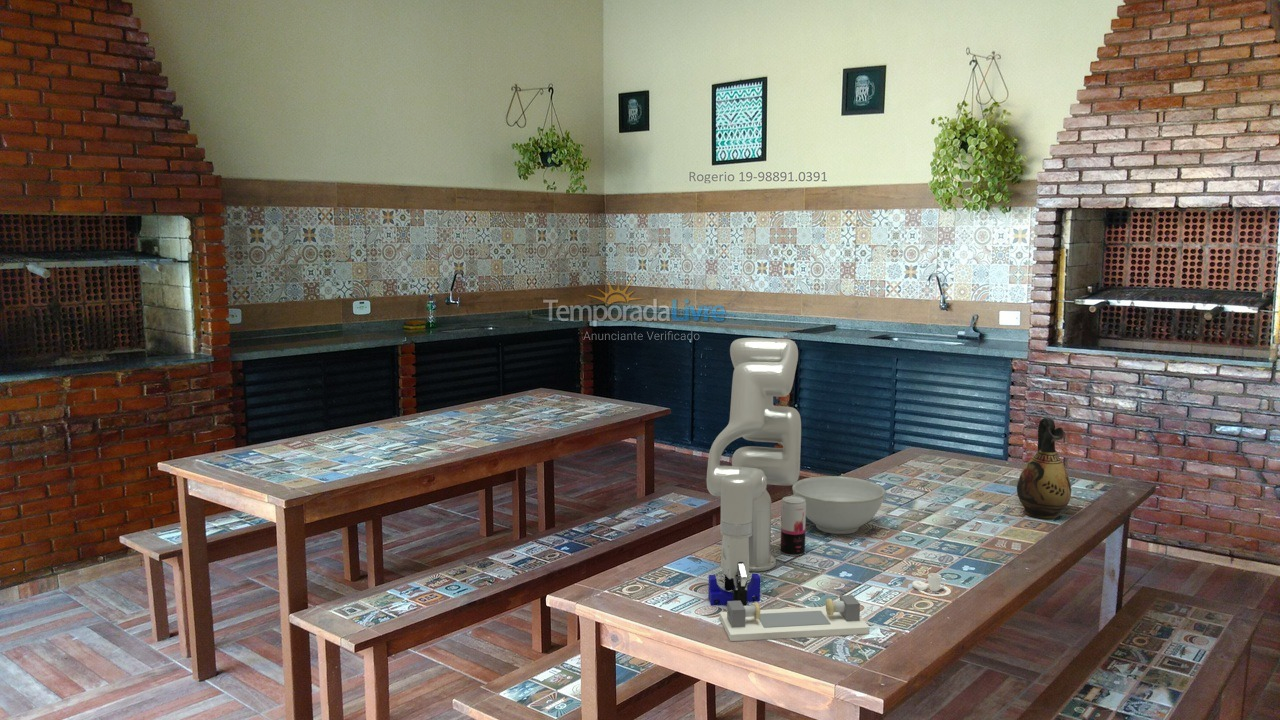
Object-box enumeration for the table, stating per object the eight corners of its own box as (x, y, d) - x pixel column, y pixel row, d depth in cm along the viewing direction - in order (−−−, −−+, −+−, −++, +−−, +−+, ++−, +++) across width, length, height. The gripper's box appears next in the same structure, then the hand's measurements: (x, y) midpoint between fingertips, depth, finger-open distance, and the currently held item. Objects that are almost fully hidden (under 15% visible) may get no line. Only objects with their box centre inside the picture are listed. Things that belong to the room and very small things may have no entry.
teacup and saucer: (907, 590, 230) (908, 574, 229) (924, 581, 235) (924, 566, 235) (940, 600, 224) (941, 584, 223) (956, 591, 229) (957, 575, 229)
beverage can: (804, 557, 252) (805, 503, 249) (779, 555, 253) (780, 502, 251) (805, 549, 258) (806, 496, 256) (781, 547, 259) (782, 495, 257)
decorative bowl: (876, 515, 288) (877, 477, 286) (890, 544, 262) (892, 502, 260) (788, 512, 291) (789, 474, 289) (794, 541, 264) (795, 500, 263)
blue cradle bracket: (711, 606, 220) (711, 582, 219) (708, 598, 224) (708, 574, 224) (761, 604, 221) (761, 580, 220) (757, 597, 225) (757, 573, 224)
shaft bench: (719, 618, 213) (719, 594, 212) (850, 611, 216) (851, 587, 216) (730, 641, 201) (730, 615, 200) (869, 633, 205) (870, 608, 204)
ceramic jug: (1078, 522, 280) (1085, 425, 276) (1026, 522, 281) (1032, 425, 276) (1054, 505, 297) (1060, 413, 293) (1006, 505, 297) (1011, 413, 293)
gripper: (713, 516, 227) (712, 584, 229) (728, 540, 210) (727, 613, 212) (743, 515, 228) (742, 583, 230) (761, 538, 210) (759, 611, 213)
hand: (735, 597), depth 221 cm, fingers open, 9 cm apart
